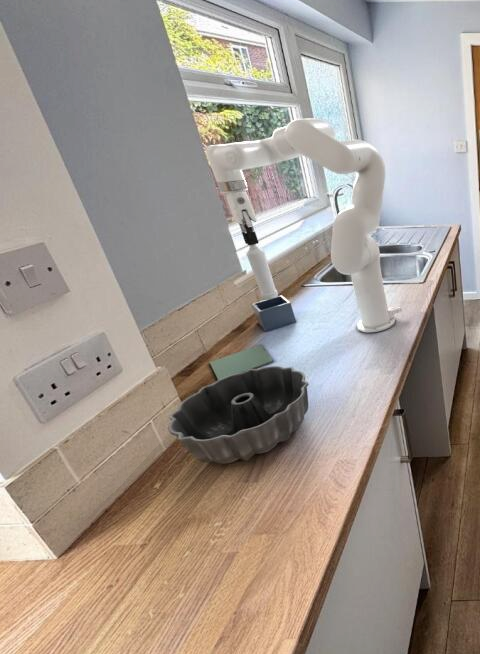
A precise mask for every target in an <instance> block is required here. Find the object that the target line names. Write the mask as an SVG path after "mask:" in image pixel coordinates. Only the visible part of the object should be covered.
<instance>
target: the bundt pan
mask: <svg viewBox="0 0 480 654" xmlns="http://www.w3.org/2000/svg"><path fill="white" fill-rule="evenodd" d="M309 385H310V384H309V382H308V381H307V380H306V374H305V373H304V372H303V371H301V370H295V369H294V367H293V366H289V367H283V366H278V365H272V366H265V367H264V366H263V367H259V368H256V369H249V370H247V371H245V372H243V373H237V374H233V375H230V376H227V377H224V378H222V379H220V380H218V379H217V380H216V381H215V382H213V383H211V384H208V385H205V386H202V387H201V388H200V389H199V390H198V392H196V393H193V394H191V395H190V396H188V397H186V398H185V399H184V400H183V401H182V402H180V404H179V405H178V407H177V410H176V411H175V412H172V414H170V415H169V416H168V418H169V420H170V423H168V426H167V430H168V432H169V433H170V434H171V435H172V436H175V437H176V438H177V439H178V441H179V442H180V443H181V444H182V446H184V448H185V449H186V450H187V451H188V452H189V453H190V454H192V455H193V456H194V457H195V459H196V460H198V461H199V462H202V463H217V464H230V463H233V462H235V461H237V460H242V461H249V460H250V459H251V458H253V456H255V455H256V454H264V453H267V452H269V451H271V450H272V449H274V448H275V447H276V446H277V445H278V443H282V442H286V441H289V439H290V437H291V435H292V433H293V432H295V431H296V430H298V429H299V428H300V427H301V425H302V423H303V421H304V419H305V415H306V414H307V412H308V410H309V395H308V386H309Z"/></svg>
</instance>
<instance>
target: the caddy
mask: <svg viewBox="0 0 480 654" xmlns="http://www.w3.org/2000/svg"><path fill="white" fill-rule="evenodd" d="M251 307H252V309H253V312H254V316H255V318H256V321H257V323H258V325H260V327H261V328H262V329H263V330H264V331H265V332H269V331H271V330H275V329H279V328H281V327H284V326H286V325H289V324H293V323H296V322H297V320H296V315H295V313H294V310H293V306H292V303H291V301H290V300H288V298H286V297H285V296H283V295H278V296H277V297H275V298H273V299H268V300H264V299H263V300H260V301H257V302H254V303H251Z"/></svg>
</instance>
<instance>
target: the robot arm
mask: <svg viewBox="0 0 480 654" xmlns="http://www.w3.org/2000/svg"><path fill="white" fill-rule="evenodd" d="M205 154H206V156H207V157H206V158H208V162H209V165H210V168H211V170H212V173H213V176H214V179H215V181H216V184H217V187H218V190H219V194H224V196H225V199H226V201H227V205H228V207H229V211H230V213H231V216H232V218H233V220H234V221H235V222H236V223H238V224H239V228H240V231H241V235H242V237H243V241H244V243H245V244H246V245H247V246H249V245H253V244H256V245H257V244H259V239H258V236H257V234H256V231H255V228H254V226H253V222H254V223H256V222H257V221H258V218H257V216H256V214H255V210H254V208H253V206H252V202H251V200H250V198H249V195H248V193H247V191H248V190H249V188H248V185H247V182H246V180H245V176H244V173H243V171H244V170H251V169H256V168H261V167H267V166H271V165H274V164H278V163H282V162H286V161H291V160H293V159H297V158H300V157H306V158H307V159H309V160H311V161H313V162H315V163H316V164H318V165H319V166H322V167H323V168H324V169H327V170H328V171H330V172H333V173H335V174H337V175H338V174H339V175H348V174H352V173H356V178H355V181H354V183H353V186H352V197H351V204H350V205H349V207H346V208H345V209H343V210H341V211H340V212H338V213H337V215H336V216H335V218H334V219H333V220H334V221H333V224H332V234H331V244H330V245H331V246H330V260H331V264H332V266H333V267H334V269H335V270H336V271H337V272H338V273H340V274H342V275H346V276H350V277H351V282H352V283H351V284H352V288H353V292H354V297H355V301H356V305H357V310H358V315H359V318H360V320H359V321H358V322H357V324H356V327H357V330H358V331H360V332H362V333H369V334H371V333H378V332H382V331H385V330H388V329H390V328H391V327H392V326H394V325H395V323H396V320H395V319H396V318H395V317H394V316H395V315H396V314H400V313H402V312H403V309H402V306H398V307H395V306H392V307H388V301H387V296H386V292H385V285H384V281H383V280H384V279H383V275H382V269H381V251H380V246H379V244H378V242H377V241H376V239H374V237H372V236H370V235H371V234H373V233H375V231H377V229H378V228H379V226H380V220H381V212H382V205H383V195H384V188H385V180H386V164H385V162H384V159H383V157H382V155H381V153H380V152H379V150H377V149H376V147H375V146H373V145H372V144H371V143H369V142H367V141H365V140H362V139H348V140H340V141H339V140H338V139H336V133H335V130H334V128H333V126H332V125H331V124H330V123H329V122H327V121H326V120H325V119H322V118H316V117H315V118H313V117H312V118H311V117H310V118H296V119H293V120H292V121H290V122H289V123H288V124H287V126H283V127H279V128H275V130H273V132H272V136H270V137H267V138H263V139H259V140H252V141H240V142H231V143H225V144H224V143H222V144H221V143H220V144H210V145H207V146H206V147H205Z"/></svg>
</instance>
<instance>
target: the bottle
mask: <svg viewBox="0 0 480 654" xmlns="http://www.w3.org/2000/svg"><path fill="white" fill-rule="evenodd" d="M248 246H249V247H248V250H247V252H246V254H245V255H246V257H247V259H248V262H249V264H250V267H251V270H252V273H253V276H254V278H255V281H256V283H257V286H258V288H259V292H260V297H261V298H262V299H263V300H268V299H273V298H275V297H277V296H279V292H278V290H277V289H276V285H275V282H274V279H273V276H272V273H271V270H270V266H269V263H268V259H267V257H266V254H265V250H264V249H263V248H260V247H259V246H258V245H257V244H253V245H248Z"/></svg>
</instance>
